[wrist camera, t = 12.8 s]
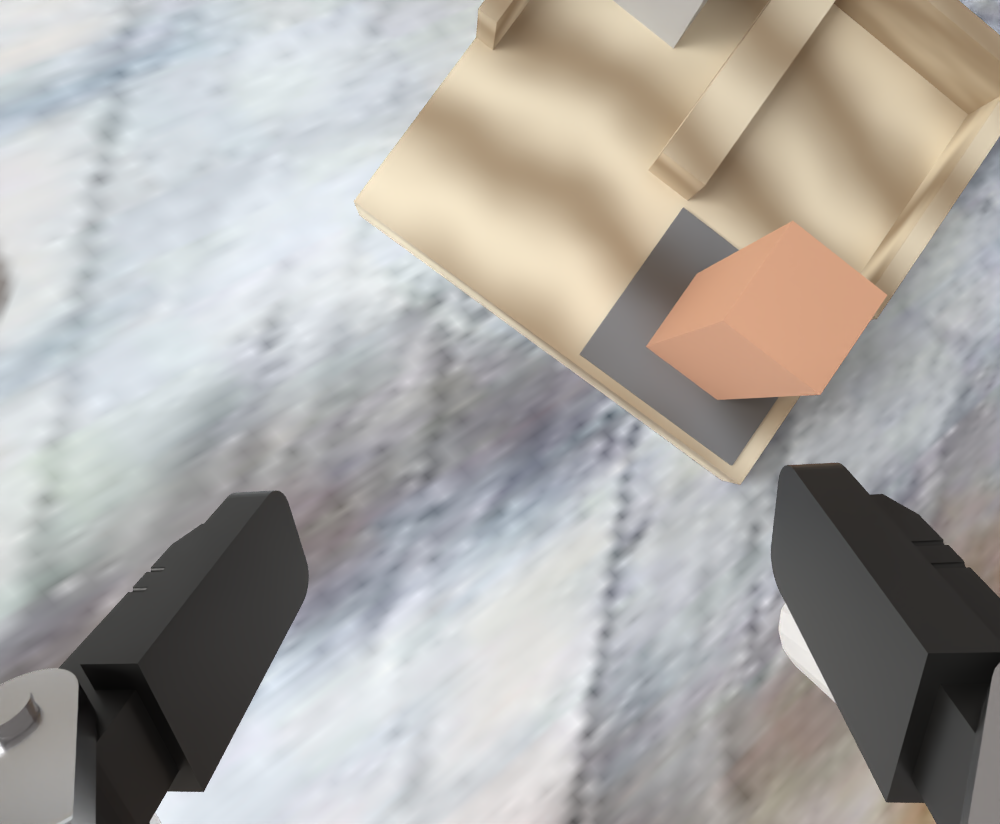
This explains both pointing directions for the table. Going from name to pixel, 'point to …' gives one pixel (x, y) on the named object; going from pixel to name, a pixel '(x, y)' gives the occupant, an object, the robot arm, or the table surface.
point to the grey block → (664, 16)
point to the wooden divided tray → (683, 172)
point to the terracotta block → (768, 319)
